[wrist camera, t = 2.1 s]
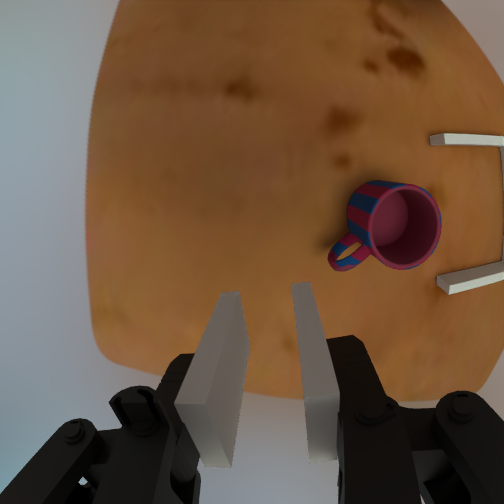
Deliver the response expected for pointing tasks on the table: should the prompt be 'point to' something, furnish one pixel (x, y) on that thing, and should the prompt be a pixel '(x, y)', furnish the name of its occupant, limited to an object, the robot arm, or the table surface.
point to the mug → (389, 226)
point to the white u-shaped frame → (500, 269)
